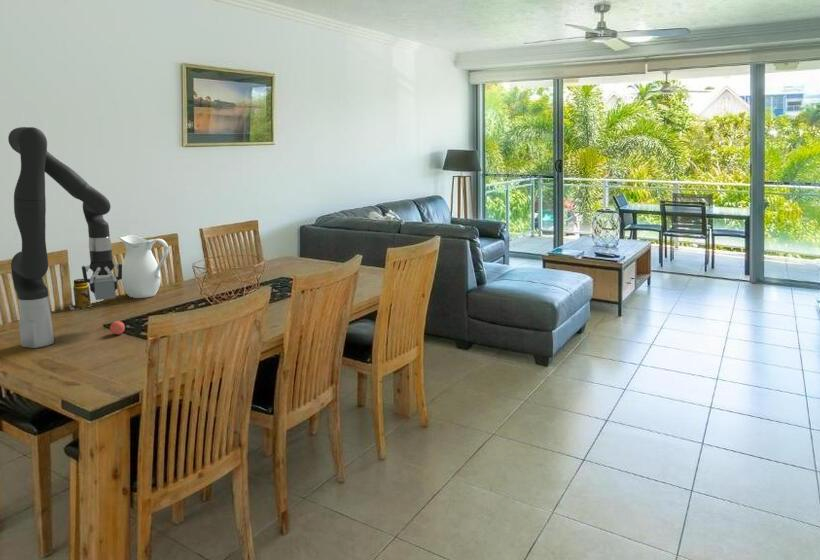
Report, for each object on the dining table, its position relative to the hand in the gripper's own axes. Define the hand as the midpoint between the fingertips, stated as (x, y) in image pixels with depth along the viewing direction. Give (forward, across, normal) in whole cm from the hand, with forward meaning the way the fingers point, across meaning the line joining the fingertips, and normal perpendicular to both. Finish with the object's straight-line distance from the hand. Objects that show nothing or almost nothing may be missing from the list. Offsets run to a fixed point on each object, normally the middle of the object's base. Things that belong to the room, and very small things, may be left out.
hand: (104, 291), depth 238 cm
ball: (+12, +3, -11) cm, 16 cm away
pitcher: (+14, +21, +45) cm, 52 cm away
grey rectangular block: (+2, 0, 0) cm, 2 cm away
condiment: (+15, -7, +39) cm, 42 cm away
